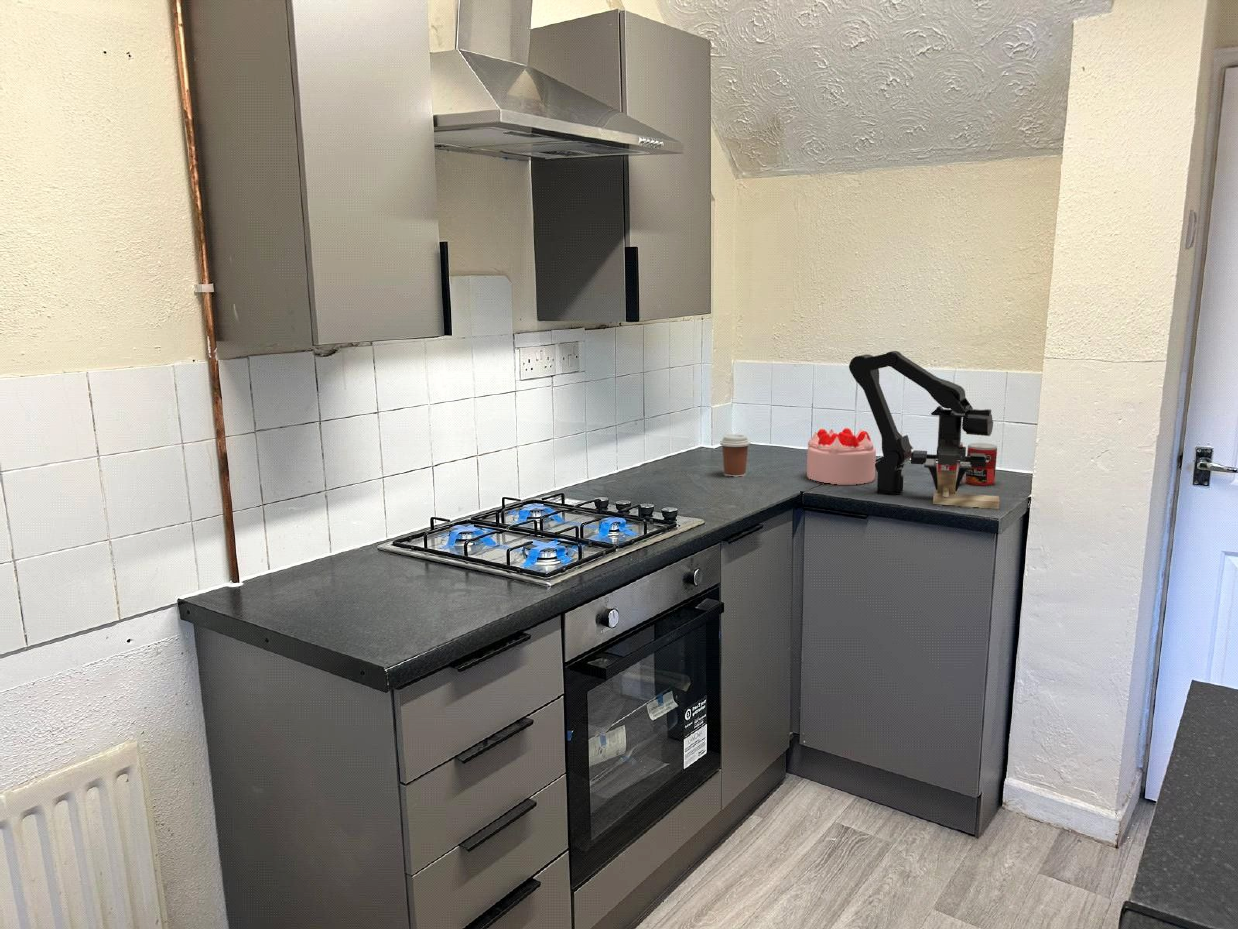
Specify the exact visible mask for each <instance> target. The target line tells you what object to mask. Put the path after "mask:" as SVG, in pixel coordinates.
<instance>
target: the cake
mask: <svg viewBox="0 0 1238 929" xmlns="http://www.w3.org/2000/svg"><path fill="white" fill-rule="evenodd" d="M876 457H877V449H876V448H875V446H874V443H873V441H871V436H870V434H869V433H868V432H867V431H866V430H862V428H860V429H859V430H858V432H857V433H856V435H855V434H853V432H852V430H851V428H848V427H845V428H843V429H842V431H839V433H837V432H836V433H835V431H834V430H833V429H829V432H827V430H826V429H825V428H820V429H819V430H818V431H814V434H813V435H812V437H811V438H810V439H809V440H808V442H807V455H806V458H807V459H806V460H807V462H806V464H807V465H806V477H807V478H808V480H810V479H813V480H816V481H820V482H824V483H831V484H830V485H834V484H837V485H836V486H854V485H856V484H857V485H865V484H868V483H872V482H874V480H875V477H876V468H875V464H876V461H877V460H876V459H877V458H876ZM824 483H823V484H824ZM864 483H865V484H864ZM857 485H856V486H857Z"/></svg>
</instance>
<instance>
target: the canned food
mask: <svg viewBox="0 0 1238 929" xmlns="http://www.w3.org/2000/svg"><path fill="white" fill-rule="evenodd" d="M970 453H981V454H985V456H986V467H984V468H981V467H972V466H971V470H967V471H966V472H965V482H966V483H967V484H969V485H972V486H981V487H982V486H983V487H984V486H992V485H994V483H995V482H996V481H995V480H996V467H997V459H998V458H997V457H998V455H997V454H998V445H996V444H993V443H987V442H986V443H983V442H975V443H974V442H973V443H972V442H971V443H968V444H967V449H966V456H970Z"/></svg>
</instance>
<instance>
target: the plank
mask: <svg viewBox="0 0 1238 929" xmlns="http://www.w3.org/2000/svg"><path fill="white" fill-rule="evenodd" d="M932 498H933V499H932V505H933V504H945V505H955V506H954V507H958V506H961V507H960V508H973V507H979V508H978V509H988V508H989V509H992V510H1000V497H999V495H983V494H969V493H968V494H966V493H965V494H964V493H955V494H953V493H949V497H943V493H937V491H936V492H935V491H934V492H933V497H932Z"/></svg>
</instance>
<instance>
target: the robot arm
mask: <svg viewBox="0 0 1238 929" xmlns="http://www.w3.org/2000/svg"><path fill="white" fill-rule="evenodd" d="M888 367H890V368H892V369H894V370H895V371H896V372H897V373H900V375H903V376H904V377H906V378H907V379H909V380H910V381H912V382H913V383H915V384H916V385H918V386H920V387H921V388H922V389H924V390H925V391H927V393H928V394H929V395H930V396H931V398H932V399H933V400H934V401H935V402H936V403H937V404H938V406H937V407H936V408H935V410H933V411H931V413H930V415H931V416H936V417H937V416H938V430H937V447H936V454H932V453H931V454H929V453H928V451H927V450H917V449H916V450H913V449H914V447H913V446H912V445H911V443H910V438H909V435H907V434H906V435H904V436H903V435H902V434H901V433H900V432H899V431H898V428H897V426H896V423H895V421H894V419H893V416H892V413H891V411H890V407H889V405H888V403H887V400H886V397H885V395H884V392H883V390H882V389H883V388H882V386H881V384H880V369H883V368H888ZM848 369H849V372H850V374H851V376H852V378H853V379H854V381H855V382H856V383H857V384H858V385H859V386H860V387H861V388H862V390H863V392H864V394H865V397H866V400H867V402H868V406H869V408H870V411H871V413H872V416H873V418H874V420H875V423H876V424H875V425H876V426H877V429H878V432H879V434H880V437H881V451H882V456H883V457H882V458H881V459H879V460H878V461H877V462H875V472H877V480H876V481H877V482H876V489H875V490H876V491H875V493H877V494H884V493H890V494H889V495H901V494H902V492H903V491H904V487H905V486H904V485H905V484H904V482H905V481H904V480H905V475H904V474H903V469H904V467H905V464H906V463H908V462H909V461H910V465H911V464H912V465H923V466H924V468H928V470H929V473H930V475H931V477H932V480H933V485H934V487H935V491H937V487H938V477H937V465H938V464H939V465H951V466H956V465H957V463H960V465H959V470H958V475H957V480H956V487H955V492H958V490H959V488H960V487H959V486H960V484H961V483H960V482H961V480H962V481H963V479H962V477H963V478H964V475H966V471H967V470H971V466H972V467H981V468H984V467H986V456H985V454H981V453H970V456H967V446H963V447H960V443H961V442H962V441H961V439H962V431H963V432H965V433H966V435H971V436H985V437H990V436H991V435H992V433H993V428H994V420H993V415H992V409H990V408H989V409H978V408H977V409H976V408H973V406H972V405H971V403H970V402H969V400H968V399H967V398H966V391H965V389H964V388H963V387H962V386H961V385H959V384H957V383H954V382H952V381H949V380H946V379H942V378H941V377H937V376H936V375H934V374H933V373H932V372H930V371H928V370H926V369H925V368H923V367H921V366H920V365H918V364H917V363H915V361H912V360H910V359H909V358H908V357H906V356H905V355H903V354H902V353H901V352H900V351H898V350H892V351H888V352H886V353H883V354H877V355H875V356H874V355H871V354H868V353H866V354H862V355H861V354H860V355H857V356H854V357H853V358H851V359H850V362H849V364H848Z"/></svg>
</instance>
